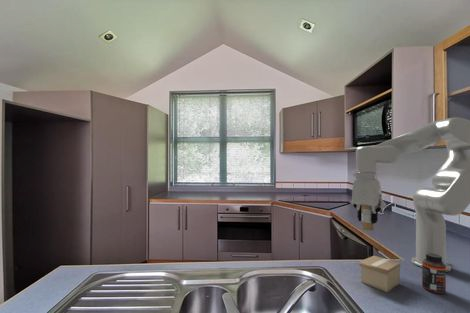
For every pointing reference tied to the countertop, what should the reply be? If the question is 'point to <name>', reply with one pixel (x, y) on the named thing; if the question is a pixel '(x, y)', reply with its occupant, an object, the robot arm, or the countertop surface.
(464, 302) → the countertop surface
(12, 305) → the countertop surface
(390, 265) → the lid
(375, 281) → the box
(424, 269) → the supplement bottle
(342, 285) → the countertop surface
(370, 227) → the sprinkles bottle
